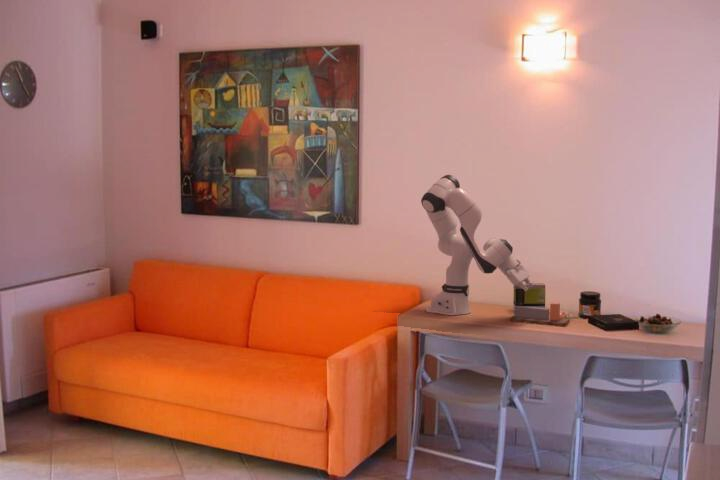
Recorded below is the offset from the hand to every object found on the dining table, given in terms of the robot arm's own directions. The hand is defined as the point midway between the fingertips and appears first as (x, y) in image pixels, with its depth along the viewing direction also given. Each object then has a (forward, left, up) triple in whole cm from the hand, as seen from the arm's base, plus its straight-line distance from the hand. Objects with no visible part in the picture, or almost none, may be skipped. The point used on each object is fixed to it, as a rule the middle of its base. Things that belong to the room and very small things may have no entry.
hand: (529, 288), depth 373 cm
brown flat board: (+5, 0, -16) cm, 17 cm away
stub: (+12, 0, -14) cm, 19 cm away
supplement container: (+25, +21, -16) cm, 37 cm away
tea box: (-5, +21, -16) cm, 27 cm away
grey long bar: (+1, 0, -14) cm, 14 cm away
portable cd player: (+38, +6, -17) cm, 42 cm away
